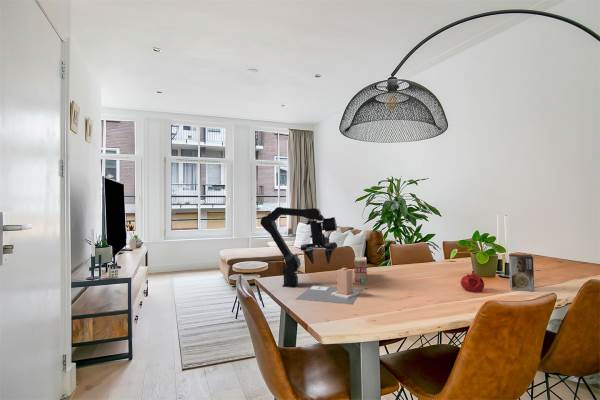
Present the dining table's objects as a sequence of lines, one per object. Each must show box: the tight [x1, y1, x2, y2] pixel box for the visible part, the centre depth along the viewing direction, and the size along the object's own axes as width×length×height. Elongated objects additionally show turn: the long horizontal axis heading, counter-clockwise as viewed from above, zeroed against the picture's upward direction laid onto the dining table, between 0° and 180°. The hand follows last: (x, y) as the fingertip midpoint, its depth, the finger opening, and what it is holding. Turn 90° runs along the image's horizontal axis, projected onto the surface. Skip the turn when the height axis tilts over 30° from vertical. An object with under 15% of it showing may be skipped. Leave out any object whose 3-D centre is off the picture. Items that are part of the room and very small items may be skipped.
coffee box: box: [508, 253, 535, 292], centre depth 158 cm, size 9×6×16 cm
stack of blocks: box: [353, 256, 368, 285], centre depth 182 cm, size 21×6×12 cm, turn 169°
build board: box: [295, 284, 364, 306], centre depth 151 cm, size 25×25×2 cm
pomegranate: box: [460, 270, 485, 293], centre depth 157 cm, size 10×10×9 cm
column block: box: [336, 267, 354, 296], centre depth 149 cm, size 5×5×12 cm
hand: (320, 263), depth 167 cm, fingers open, 9 cm apart
